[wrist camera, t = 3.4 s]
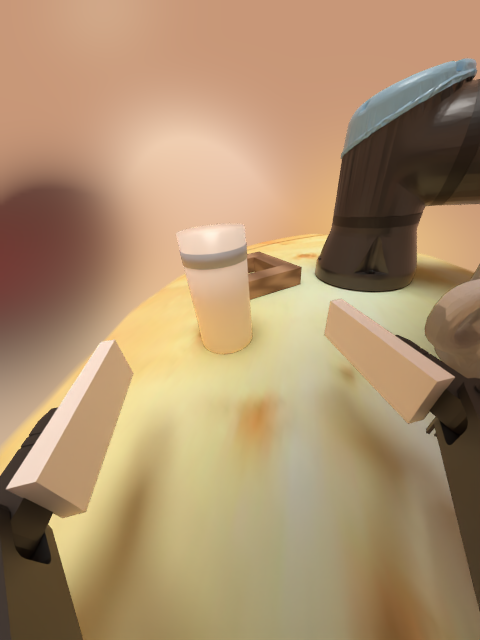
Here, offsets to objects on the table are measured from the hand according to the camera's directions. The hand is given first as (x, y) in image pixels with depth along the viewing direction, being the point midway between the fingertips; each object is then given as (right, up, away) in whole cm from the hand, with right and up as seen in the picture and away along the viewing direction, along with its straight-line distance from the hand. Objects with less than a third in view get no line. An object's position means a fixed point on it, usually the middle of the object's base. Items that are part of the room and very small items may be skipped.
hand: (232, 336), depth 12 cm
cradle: (+2, +8, +26) cm, 27 cm away
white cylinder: (-1, -1, +11) cm, 12 cm away
